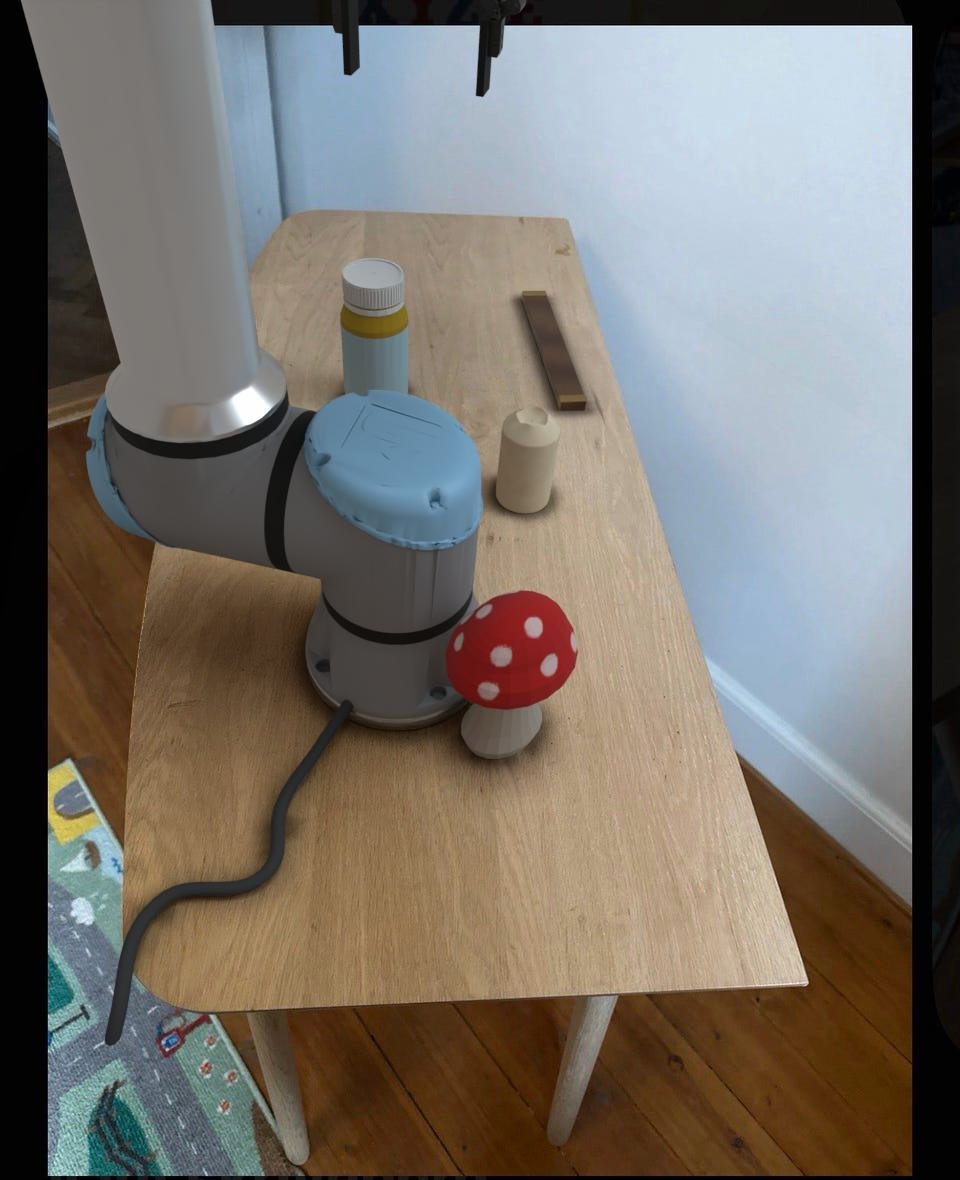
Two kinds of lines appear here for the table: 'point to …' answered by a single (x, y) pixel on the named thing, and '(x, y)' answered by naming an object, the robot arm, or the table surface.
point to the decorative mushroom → (509, 668)
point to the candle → (527, 460)
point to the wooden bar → (553, 352)
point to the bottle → (374, 327)
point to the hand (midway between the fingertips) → (416, 82)
